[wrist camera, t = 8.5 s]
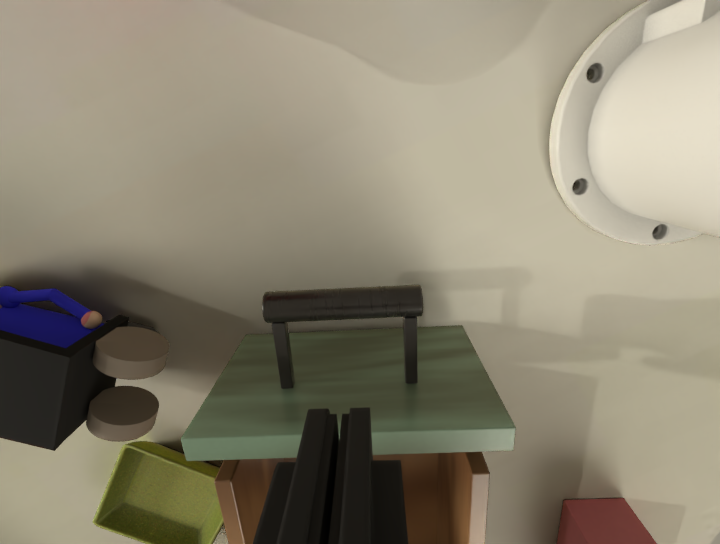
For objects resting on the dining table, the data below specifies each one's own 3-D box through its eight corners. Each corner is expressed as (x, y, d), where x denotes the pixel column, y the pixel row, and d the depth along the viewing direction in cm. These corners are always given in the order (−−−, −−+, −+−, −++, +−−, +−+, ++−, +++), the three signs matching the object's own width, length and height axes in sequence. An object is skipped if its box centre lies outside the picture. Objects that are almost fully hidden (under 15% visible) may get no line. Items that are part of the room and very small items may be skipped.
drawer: (232, 260, 22) (151, 331, 14) (465, 248, 22) (527, 315, 13) (281, 543, 30) (248, 701, 21) (454, 539, 29) (490, 698, 21)
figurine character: (198, 303, 26) (-57, 238, 23) (151, 370, 19) (-227, 288, 16) (180, 381, 28) (-56, 331, 25) (131, 468, 21) (-205, 412, 18)
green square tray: (251, 465, 28) (243, 490, 26) (211, 537, 31) (201, 564, 29) (140, 421, 27) (123, 442, 25) (108, 499, 30) (90, 525, 28)
